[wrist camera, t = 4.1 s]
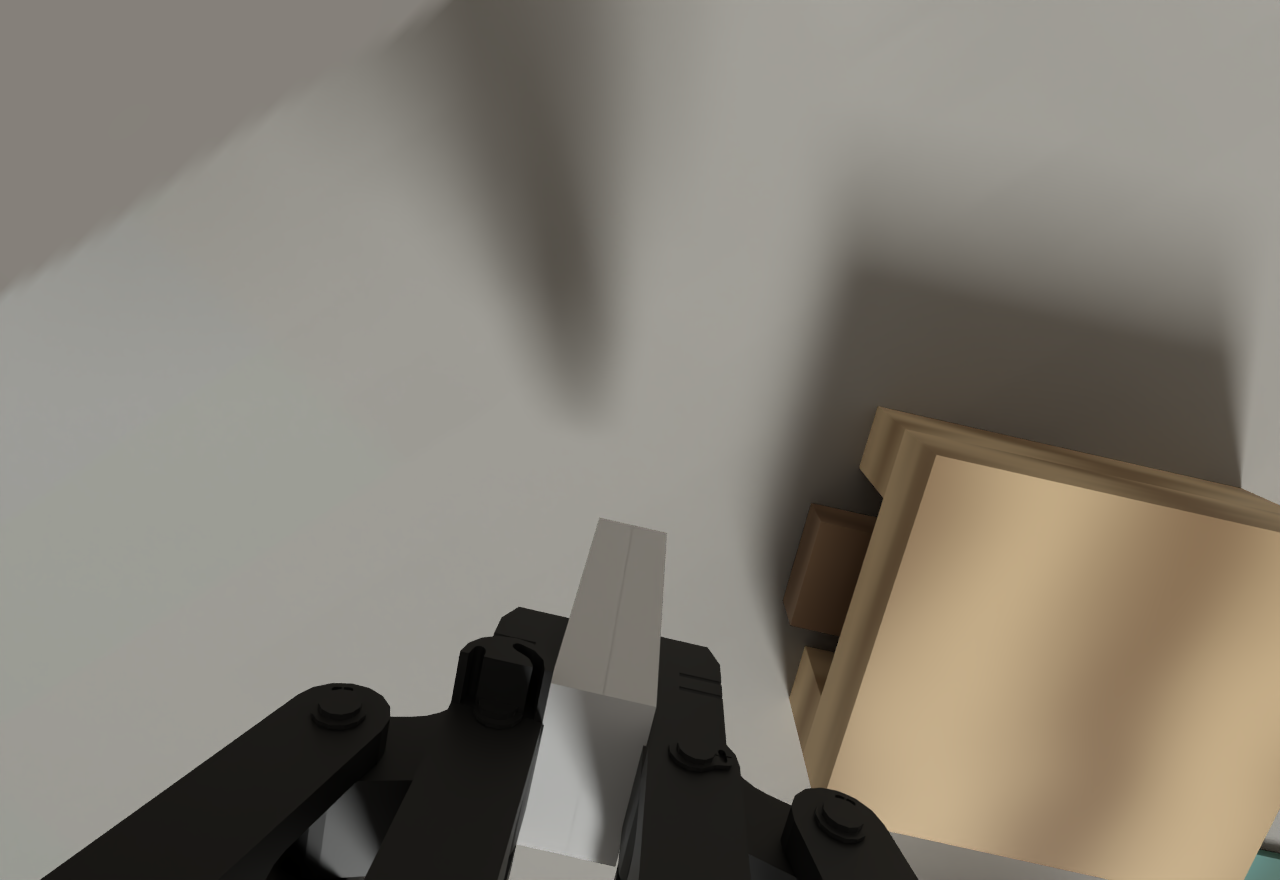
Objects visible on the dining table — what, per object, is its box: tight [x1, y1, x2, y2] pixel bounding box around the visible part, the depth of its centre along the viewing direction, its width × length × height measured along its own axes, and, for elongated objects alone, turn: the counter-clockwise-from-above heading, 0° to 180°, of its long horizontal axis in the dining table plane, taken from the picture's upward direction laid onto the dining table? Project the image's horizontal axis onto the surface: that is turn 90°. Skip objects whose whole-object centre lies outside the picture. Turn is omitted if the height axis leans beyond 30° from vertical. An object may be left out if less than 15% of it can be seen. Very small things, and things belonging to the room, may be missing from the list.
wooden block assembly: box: [783, 503, 1280, 880], centre depth 20 cm, size 24×18×4 cm
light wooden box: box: [789, 406, 1280, 880], centre depth 20 cm, size 10×9×5 cm
